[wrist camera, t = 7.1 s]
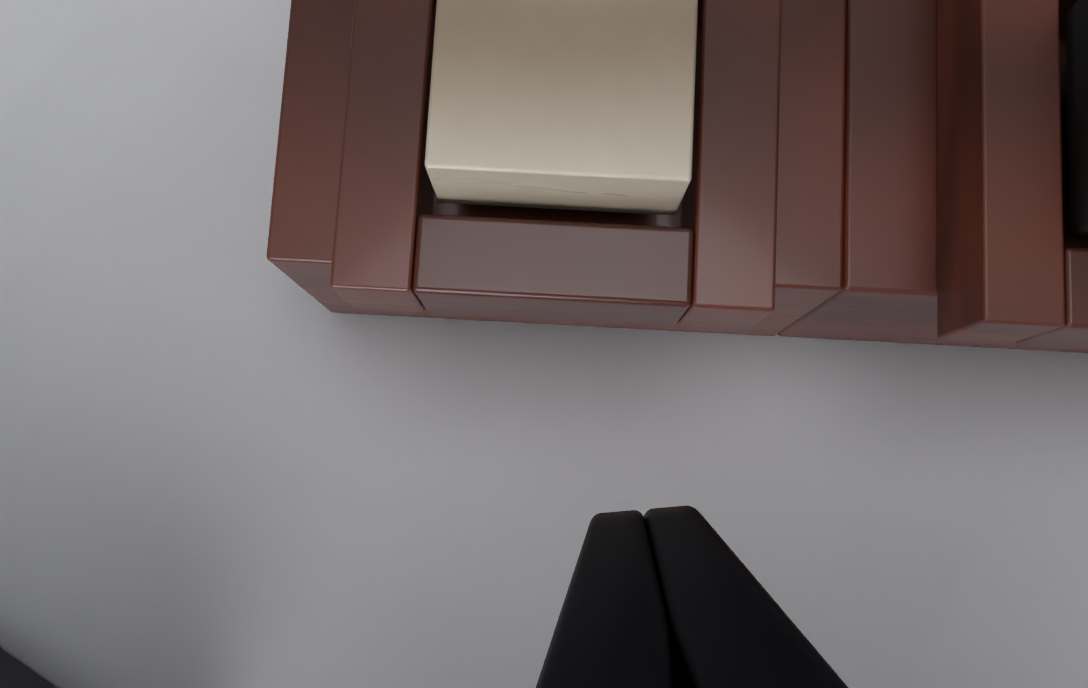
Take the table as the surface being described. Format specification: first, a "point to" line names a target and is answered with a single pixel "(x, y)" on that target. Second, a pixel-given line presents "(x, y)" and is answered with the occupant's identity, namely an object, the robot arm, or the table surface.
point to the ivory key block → (557, 234)
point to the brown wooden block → (957, 180)
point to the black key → (1077, 115)
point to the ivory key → (563, 104)
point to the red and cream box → (18, 674)
